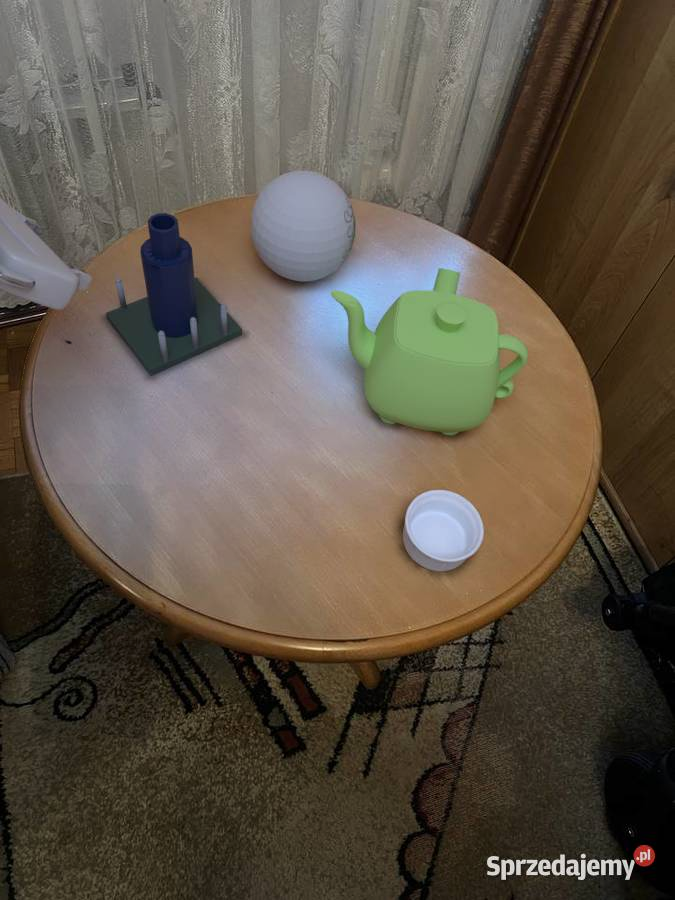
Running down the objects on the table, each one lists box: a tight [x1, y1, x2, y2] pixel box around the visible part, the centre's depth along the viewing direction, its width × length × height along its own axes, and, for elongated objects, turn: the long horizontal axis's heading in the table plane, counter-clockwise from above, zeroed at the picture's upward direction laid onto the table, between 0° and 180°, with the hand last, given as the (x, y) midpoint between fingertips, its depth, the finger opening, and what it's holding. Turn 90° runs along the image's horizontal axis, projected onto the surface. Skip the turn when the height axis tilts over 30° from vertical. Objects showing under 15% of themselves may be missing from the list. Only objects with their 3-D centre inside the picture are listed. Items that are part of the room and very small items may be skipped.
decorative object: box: [250, 169, 357, 282], centre depth 93 cm, size 15×15×15 cm
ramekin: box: [402, 489, 485, 572], centre depth 74 cm, size 9×9×4 cm
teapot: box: [330, 267, 529, 436], centre depth 83 cm, size 25×22×16 cm
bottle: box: [139, 212, 198, 338], centre depth 82 cm, size 6×6×16 cm
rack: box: [105, 277, 243, 377], centre depth 87 cm, size 14×12×6 cm
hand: (60, 255), depth 69 cm, fingers open, 8 cm apart
